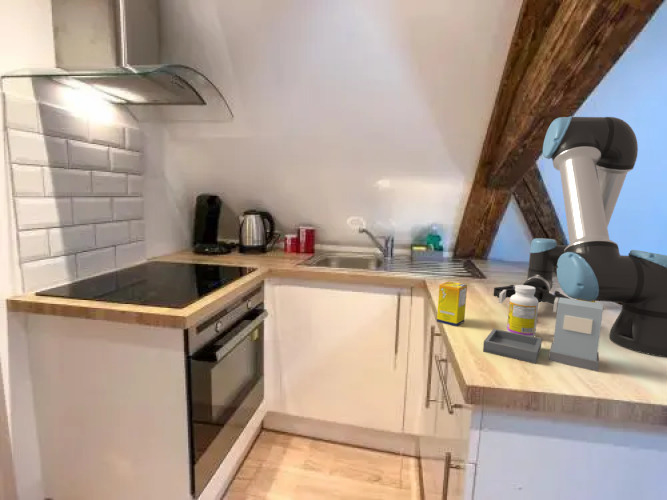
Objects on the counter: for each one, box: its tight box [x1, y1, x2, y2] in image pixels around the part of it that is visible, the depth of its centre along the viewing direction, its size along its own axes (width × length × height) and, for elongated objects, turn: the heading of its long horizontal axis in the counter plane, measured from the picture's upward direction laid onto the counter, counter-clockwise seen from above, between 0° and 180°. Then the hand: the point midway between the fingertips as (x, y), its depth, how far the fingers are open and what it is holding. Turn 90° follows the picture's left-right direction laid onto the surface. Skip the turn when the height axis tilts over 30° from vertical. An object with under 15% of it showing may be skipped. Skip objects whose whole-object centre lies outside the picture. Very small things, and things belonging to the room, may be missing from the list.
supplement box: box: [436, 281, 468, 327], centre depth 109 cm, size 6×6×11 cm
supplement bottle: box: [506, 284, 539, 337], centre depth 100 cm, size 7×7×13 cm
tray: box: [482, 328, 543, 365], centre depth 90 cm, size 11×11×2 cm
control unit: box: [548, 297, 604, 372], centre depth 84 cm, size 9×7×13 cm
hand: (526, 302), depth 106 cm, fingers open, 13 cm apart
